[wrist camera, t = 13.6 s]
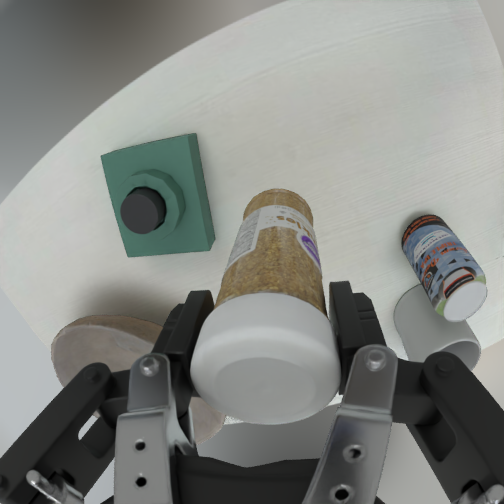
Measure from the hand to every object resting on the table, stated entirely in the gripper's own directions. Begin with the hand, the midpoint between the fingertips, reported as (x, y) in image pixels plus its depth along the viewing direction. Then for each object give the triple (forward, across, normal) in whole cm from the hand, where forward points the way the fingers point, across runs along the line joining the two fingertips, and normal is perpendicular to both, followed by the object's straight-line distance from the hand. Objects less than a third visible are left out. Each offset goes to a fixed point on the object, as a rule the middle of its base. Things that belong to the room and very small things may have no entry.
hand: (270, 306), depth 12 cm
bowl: (+22, +22, +24) cm, 39 cm away
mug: (+22, -18, +20) cm, 35 cm away
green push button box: (+22, +13, 0) cm, 25 cm away
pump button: (+17, +13, 0) cm, 21 cm away
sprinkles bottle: (+10, 0, 0) cm, 10 cm away
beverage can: (+22, -16, +8) cm, 28 cm away
